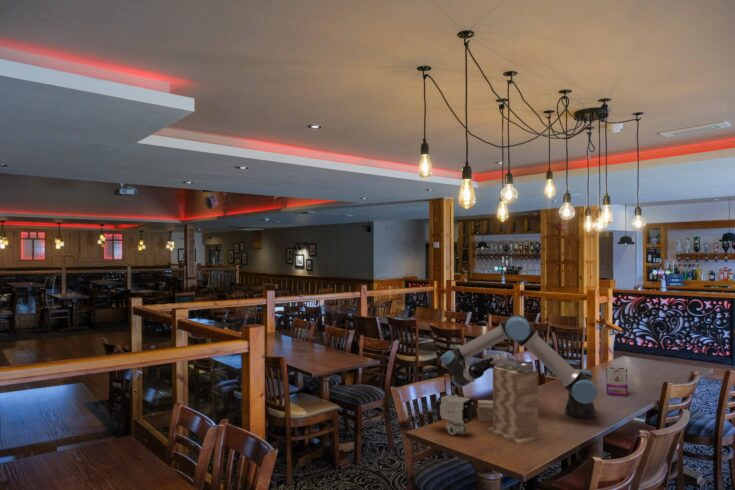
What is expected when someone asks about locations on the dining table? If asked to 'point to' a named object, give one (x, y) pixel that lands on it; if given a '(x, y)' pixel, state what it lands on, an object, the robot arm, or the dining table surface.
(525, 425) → the oak stand
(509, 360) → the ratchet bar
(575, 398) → the robot arm
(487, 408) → the beech block
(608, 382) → the candy bar box
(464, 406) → the ball valve
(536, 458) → the dining table surface
